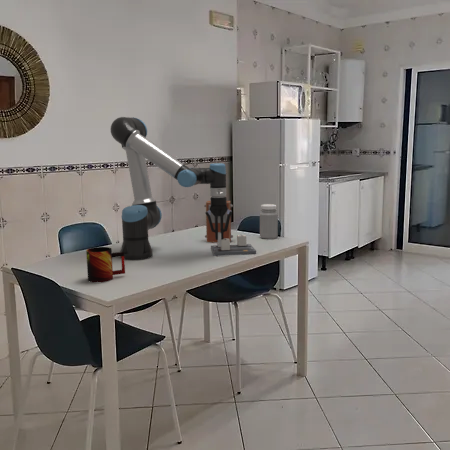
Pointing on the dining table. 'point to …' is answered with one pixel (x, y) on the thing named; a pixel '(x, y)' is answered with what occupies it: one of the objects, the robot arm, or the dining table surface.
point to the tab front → (225, 244)
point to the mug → (102, 264)
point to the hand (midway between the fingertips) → (219, 246)
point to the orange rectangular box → (209, 233)
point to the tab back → (241, 240)
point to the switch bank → (233, 250)
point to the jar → (268, 221)
